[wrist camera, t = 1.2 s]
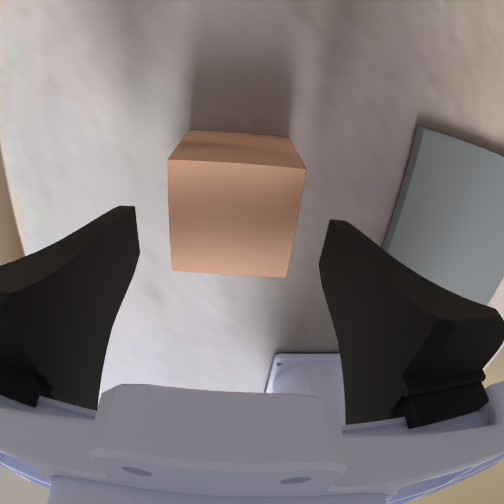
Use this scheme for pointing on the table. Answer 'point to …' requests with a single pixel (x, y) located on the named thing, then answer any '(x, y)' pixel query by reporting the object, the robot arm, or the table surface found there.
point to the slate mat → (451, 215)
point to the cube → (233, 203)
